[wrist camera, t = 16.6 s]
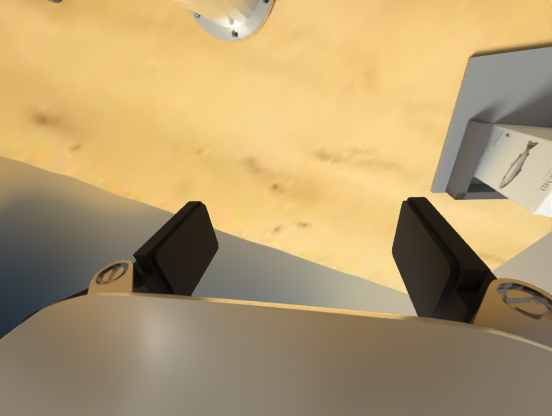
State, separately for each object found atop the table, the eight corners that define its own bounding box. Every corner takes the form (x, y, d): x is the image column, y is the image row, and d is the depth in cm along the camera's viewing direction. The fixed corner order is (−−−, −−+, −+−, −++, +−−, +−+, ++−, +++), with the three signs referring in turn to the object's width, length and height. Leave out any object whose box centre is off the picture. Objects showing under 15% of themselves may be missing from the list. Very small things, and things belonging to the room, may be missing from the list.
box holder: (469, 57, 27) (489, 55, 24) (635, 35, 24) (685, 28, 20) (430, 190, 36) (441, 201, 33) (544, 188, 33) (568, 199, 30)
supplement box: (491, 122, 29) (590, 147, 19) (552, 127, 28) (690, 156, 18) (463, 171, 33) (531, 215, 23) (515, 177, 32) (611, 225, 22)
